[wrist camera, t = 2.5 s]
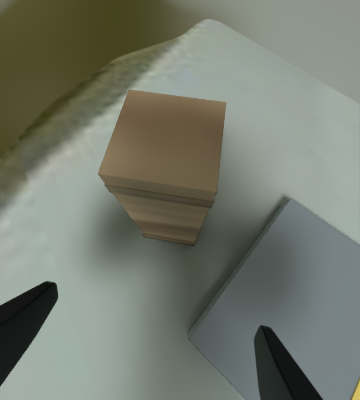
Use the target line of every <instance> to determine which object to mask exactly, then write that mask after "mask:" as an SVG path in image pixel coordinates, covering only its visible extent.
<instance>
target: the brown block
mask: <svg viewBox="0 0 360 400" xmlns="http://www.w3.org/2000/svg"><path fill="white" fill-rule="evenodd" d="M225 109H226V102H220V101H212V100H204V99H197V98H189V97H181V96H174V95H166V94H158V93H151V92H143V91H135V90H129V91H128V94H127V96H126V99H125V102H124V104H123V107H122V110H121V113H120V115H119V118H118V121H117V123H116V126H115V129H114V131H113V134H112V137H111V139H110V142H109V145H108V148H107V150H106V153H105V156H104V158H103V161H102V164H101V166H100V169H99V172H98V175H99V176H100V177H101V179H102V180H103V181H104V183H105V187H106V188H107V189H108V190H109V192H111V193H113V195H114V196H115V197H116V198H117V200H118V201H119V202H120V204H121V205H122V206H123V208H124V209H125V210H126V212H127V213H128V214H129V216H130V217H131V218H132V219H133V221H134V222H135V223H136V225H137V226H138V227H139V229H140V230H141V231H142V233H143V234H142V235H143V236H144V237H146V238H152V239H157V240H163V241H169V242H175V243H181V244H187V245H193V246H194V245H195V241H196V237H197V235H198V233H199V231H200V228H201V226H202V224H203V222H204V220H205V217H206V215H207V213H208V211H209V208H211V207H212V205H213V203H214V197H215V195H216V193H217V185H218V175H219V166H220V157H221V147H222V138H223V128H224V119H225Z"/></svg>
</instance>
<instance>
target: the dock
mask: <svg viewBox="0 0 360 400" xmlns="http://www.w3.org/2000/svg"><path fill="white" fill-rule="evenodd" d="M260 325H264V326H269V327H270V328H272V330H273V331H274V332H275V334H276V335H277V337H278V338H279V339H280V341H281V342H282V343H283V345H284V346H285V348H286V349H287V350H288V352H289V353H290V354H291V356H292V357H293V359H294V360H295V361H296V363H297V364H298V365H299V367H300V368H301V369H302V371H303V372H304V374H305V375H306V376H307V378H308V379H309V380H310V382H311V383H312V385H313V386H314V387H315V389H316V390H317V391H318V393H319V394H320V396H321V397H322V398H323V400H360V246H359V245H358V244H357V243H355V242H354V241H352V240H351V239H349V238H348V237H347V236H345V235H344V234H342V233H341V232H339V231H338V230H336V229H335V228H334V227H332V226H331V225H329V224H328V223H326V222H325V221H323V220H322V219H321V218H319V217H318V216H316V215H315V214H313V213H312V212H310V211H309V210H308V209H306V208H305V207H303V206H302V205H300V204H299V203H297V202H296V201H295V200H293V199H292V198H291V199H290V200H288V201H287V202H285V203H284V204H283V205H281V207H280V208H279V209H278V211H277V212H276V214H275V215H274V216H273V218H272V219H271V220H270V222H269V223H268V224H267V226H266V227H265V229H264V230H263V231H262V233H261V234H260V235H259V237H258V238H257V239H256V241H255V242H254V244H253V245H252V246H251V248H250V249H249V250H248V252H247V253H246V254H245V256H244V257H243V259H242V260H241V261H240V263H239V264H238V265H237V267H236V268H235V269H234V271H233V272H232V274H231V275H230V276H229V278H228V279H227V280H226V282H225V283H224V284H223V286H222V287H221V289H220V290H219V291H218V293H217V294H216V295H215V297H214V298H213V299H212V301H211V302H210V304H209V305H208V306H207V308H206V309H205V310H204V312H203V313H202V314H201V316H200V317H199V319H198V320H197V321H196V323H195V324H194V325H193V327H192V328H191V329H190V331H189V332H188V339H189V341H190V342H191V343H192V344H193V345H194V346H195V347H196V348H197V349H198V350H199V351H200V352H201V353H202V354H203V355H204V356H205V358H206V359H207V360H208V361H209V362H210V363H211V364H212V365H213V366H214V367H215V368H216V369H217V370H218V371H219V372H220V373H221V374H222V375H223V376H224V377H225V378H226V379H227V380H228V381H229V382H230V384H231V385H232V386H233V387H234V388H235V389H236V390H237V391H238V392H239V393H240V394H241V395H242V396H243V397H244V398H245V399H246V400H260V394H259V388H258V380H257V369H256V359H255V349H254V337H255V334H256V332H257V330H258V328H259V326H260Z"/></svg>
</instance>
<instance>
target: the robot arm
mask: <svg viewBox="0 0 360 400" xmlns="http://www.w3.org/2000/svg"><path fill="white" fill-rule="evenodd" d="M57 299H58V291H57V285H56V283H54V282H50V281H46V282H43V283H42V284H40V285H38V286H36V287H34V288H32V289H30V290H28V291H27V292H25V293H23V294H21V295H19V296H17V297H15V298H13V299H12V300H10V301H8V302H6V303H4V304H2V305H0V386H1V385H2V383H3V382H4V381H5V379H6V378H7V376H8V375H9V374H10V372H11V371H12V369H13V368H14V367H15V365H16V364H17V362H18V361H19V360H20V358H21V357H22V355H23V354H24V352H25V351H26V350H27V348H28V347H29V345H30V344H31V343H32V341H33V340H34V338H35V337H36V335H37V333H38V332H39V330H40V328H41V327H42V325H43V323H44V322H45V320H46V318H47V317H48V315H49V313H50V312H51V310H52V308H53V307H54V305H55V303H56V301H57ZM254 349H255V359H256V369H257V380H258V388H259V394H260V400H323V398H322V397H321V396H320V394H319V393H318V391H317V390H316V389H315V387H314V386H313V385H312V383H311V382H310V380H309V379H308V378H307V376H306V375H305V374H304V372H303V371H302V369H301V368H300V367H299V365H298V364H297V363H296V361H295V360H294V359H293V357H292V356H291V354H290V353H289V352H288V350H287V349H286V348H285V346H284V345H283V343H282V342H281V341H280V339H279V338H278V337H277V335H276V334H275V332H274V331H273V330H272V328H270V327H269V326H264V325H260V326H259V328H258V330H257V332H256V334H255V337H254Z"/></svg>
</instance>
